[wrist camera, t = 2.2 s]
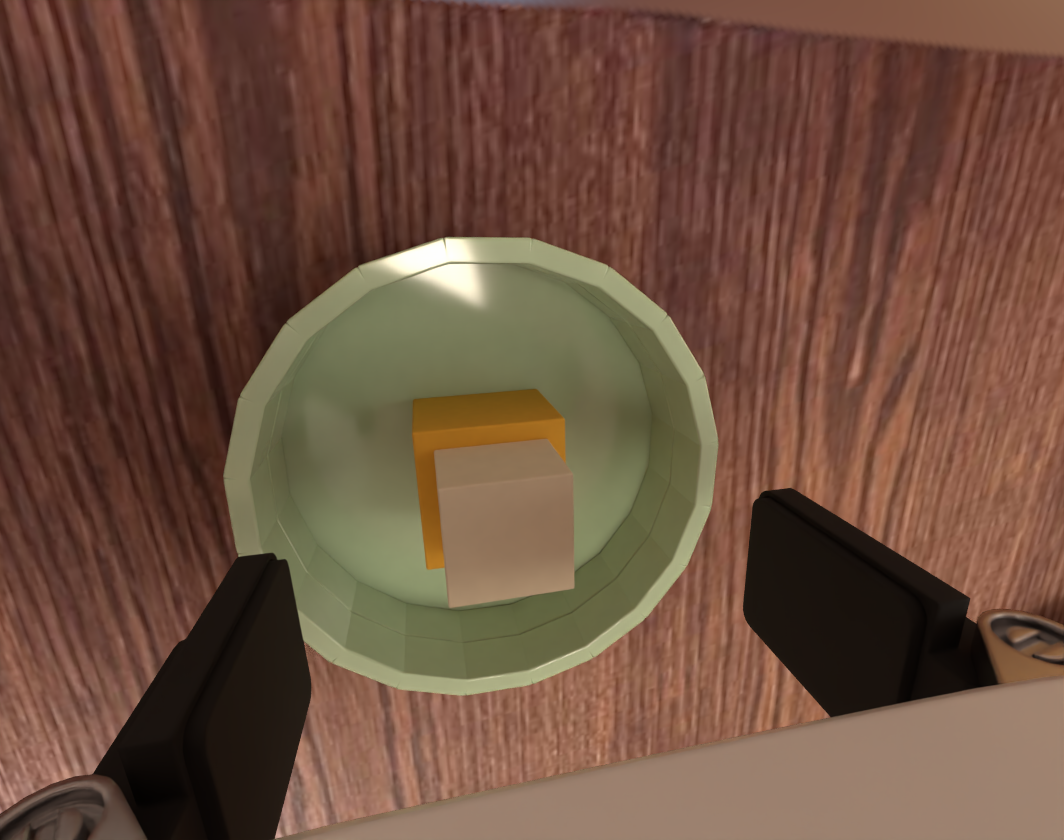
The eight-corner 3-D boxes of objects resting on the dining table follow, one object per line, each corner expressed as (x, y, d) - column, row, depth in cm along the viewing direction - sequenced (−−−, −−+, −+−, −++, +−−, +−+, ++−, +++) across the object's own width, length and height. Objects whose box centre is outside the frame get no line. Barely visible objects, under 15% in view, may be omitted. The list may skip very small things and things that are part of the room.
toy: (424, 513, 18) (428, 631, 12) (412, 398, 17) (410, 470, 11) (540, 499, 19) (595, 604, 13) (537, 388, 17) (595, 449, 12)
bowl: (297, 634, 19) (267, 728, 15) (237, 240, 15) (177, 234, 11) (647, 589, 21) (696, 659, 18) (672, 243, 18) (741, 239, 14)
